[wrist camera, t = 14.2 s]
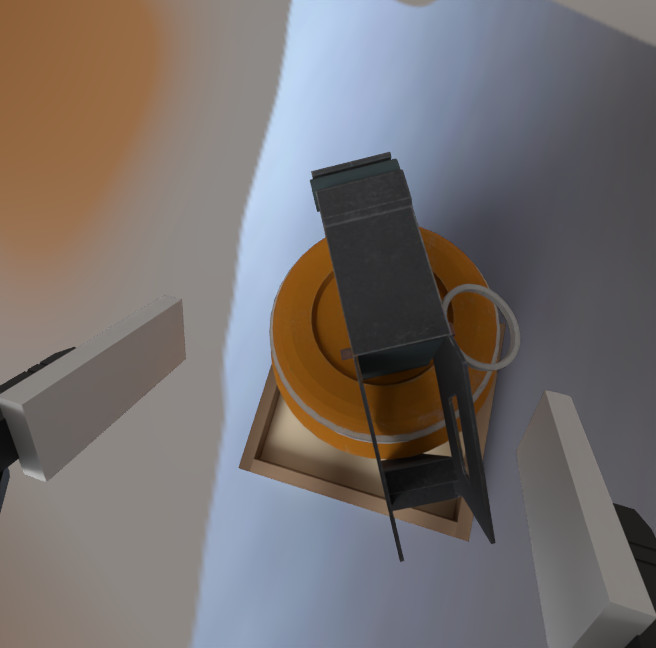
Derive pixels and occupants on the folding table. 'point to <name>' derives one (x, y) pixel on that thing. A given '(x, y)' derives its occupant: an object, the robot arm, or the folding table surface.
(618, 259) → the folding table surface
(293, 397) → the canister
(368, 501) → the wooden tray
